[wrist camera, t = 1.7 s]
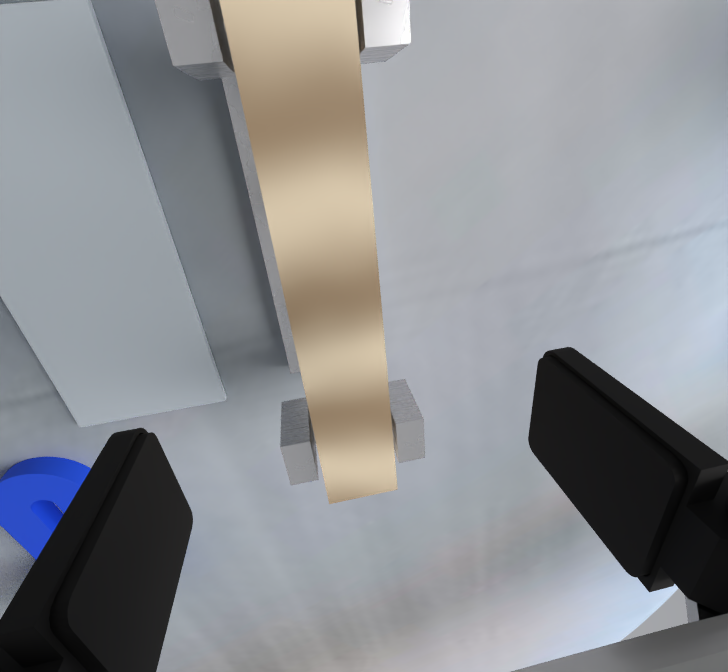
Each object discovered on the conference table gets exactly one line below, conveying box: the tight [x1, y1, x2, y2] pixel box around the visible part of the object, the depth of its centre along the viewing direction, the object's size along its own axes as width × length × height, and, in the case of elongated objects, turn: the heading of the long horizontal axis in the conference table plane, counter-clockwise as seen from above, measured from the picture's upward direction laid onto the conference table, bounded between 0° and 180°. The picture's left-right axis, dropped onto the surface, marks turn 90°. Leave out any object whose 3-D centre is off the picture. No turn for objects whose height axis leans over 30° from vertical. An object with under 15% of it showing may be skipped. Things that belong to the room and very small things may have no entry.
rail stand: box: [155, 0, 425, 485], centre depth 23 cm, size 23×8×13 cm, turn 6°
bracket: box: [0, 457, 91, 560], centre depth 34 cm, size 18×8×9 cm, turn 10°
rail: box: [219, 0, 397, 504], centre depth 18 cm, size 25×4×4 cm, turn 6°
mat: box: [0, 0, 227, 428], centre depth 27 cm, size 27×12×1 cm, turn 6°
